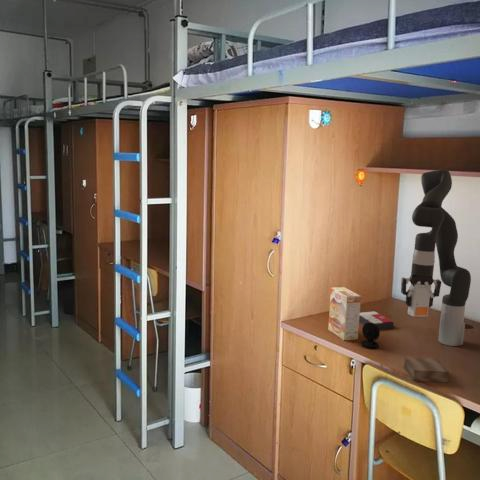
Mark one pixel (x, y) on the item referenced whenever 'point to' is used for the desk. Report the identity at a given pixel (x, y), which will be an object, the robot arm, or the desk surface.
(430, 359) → the walnut base
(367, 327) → the webcam
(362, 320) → the red and white box
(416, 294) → the skincare box
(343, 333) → the coffeecake box
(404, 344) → the desk surface
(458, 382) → the desk surface
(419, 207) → the robot arm
